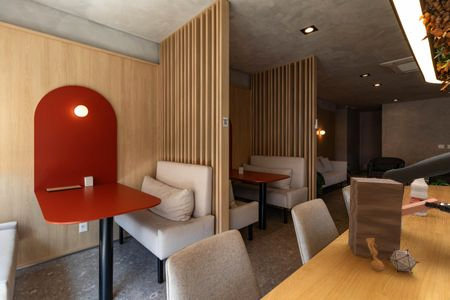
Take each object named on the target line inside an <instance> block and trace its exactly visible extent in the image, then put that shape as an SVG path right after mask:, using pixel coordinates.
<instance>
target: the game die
mask: <svg viewBox="0 0 450 300" xmlns="http://www.w3.org/2000/svg"><path fill="white" fill-rule="evenodd" d="M393 249H394V252H393V254H392V255H391V257H390V261H389V262H391V263H392V265H393V266H395V268H396V269H397V270H396V271H397V272H396V273H399V272H401V271H402V272H410V273H411V274H413V269H414V268H415V266H416V264H420V263H421V262H420V261H416V259H415V257H413V256H412V255H411V253H410V251H409V248H407V249H406V250H401V249H400V250H395V248H393ZM387 259H388V260H389V258H387ZM388 260H387V261H388Z"/></svg>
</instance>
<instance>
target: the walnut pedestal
mask: <svg viewBox="0 0 450 300" xmlns="http://www.w3.org/2000/svg"><path fill="white" fill-rule="evenodd" d="M349 183H350V187H349V207H348V208H349V211H348V213H349V214H348V238H347V239H348V243H347V244H348V246H349V247H350V249H351V251H352V253H353V254H354V256H355V257H360V258H366V259H367V258H369V259H374V258H373V255H374V253H373V255H372V254H371V252H370V249H369V247H368V243H367V241H366V239H367V238H374V240H375V241H374V243H375V245H376V246H377V247H376V246H375V245H374V248H375V249H376V250H377V251H378V254H377V255H376V257H377V258H378V259H379V260H380V261H382V260H383V261H387V262H388V261H389V262H391V261H390V257H391V255H392V254H393V252H394V249H393V248H395V250H401V237H402V236H401V235H402V234H401V233H402V229H401V219H402V220H403V216H402V197H403V198H404V195H403V184H401V183H399V182H396V181H393V180H390V179H382V178H374V177H373V178H369V177H354V176H353V177H350V182H349ZM387 258H389V260H388V259H387Z"/></svg>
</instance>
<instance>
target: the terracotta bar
mask: <svg viewBox="0 0 450 300" xmlns="http://www.w3.org/2000/svg"><path fill="white" fill-rule="evenodd" d="M425 202H431V203H436V204H440V202H441V201H440V200H439V199H437V198H434V197H432V198H428V200H424V201H420V202H416V203H412V204H410V203H409V204H405V205H404V204H403V206H402V217H405V216H410V215H414V214H413V213H417V212H421V211H425V210H427V211H429V210H430V211H431V210H433V209H435V208H430V207H426V206H425Z"/></svg>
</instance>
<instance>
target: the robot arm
mask: <svg viewBox="0 0 450 300" xmlns="http://www.w3.org/2000/svg"><path fill="white" fill-rule="evenodd" d="M448 173H450V151H449V152H445V153H441V154H439V155H434V156H432V157H429V158H426V159H424V160H421V161H418V162H416V163H413V164H411V165H409V166H406V167H402V168H401V167H400V168H397V169H390V170H386V171H385V172H384V174H383V175H382V178H381V179H390V180H393V181H396V182H399V183H401V184H403V197H402V206H404V194H405V184H406V183H408V182H413V181H414V180H415V179H420V178H424V179H425V178H432V177H436V176H440V175H444V174H448ZM420 201H424V200H422V199H420V200H419V202H420ZM439 202H440V204H436V203H431V202H425V206H426V207H430V208H434V209H435V210H437V211H441V212H442V213H443V212H444V213H447V214H450V203H449V202H445V201H443V202H442V201H439ZM402 227H403V218H402V219H401V230H402Z"/></svg>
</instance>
